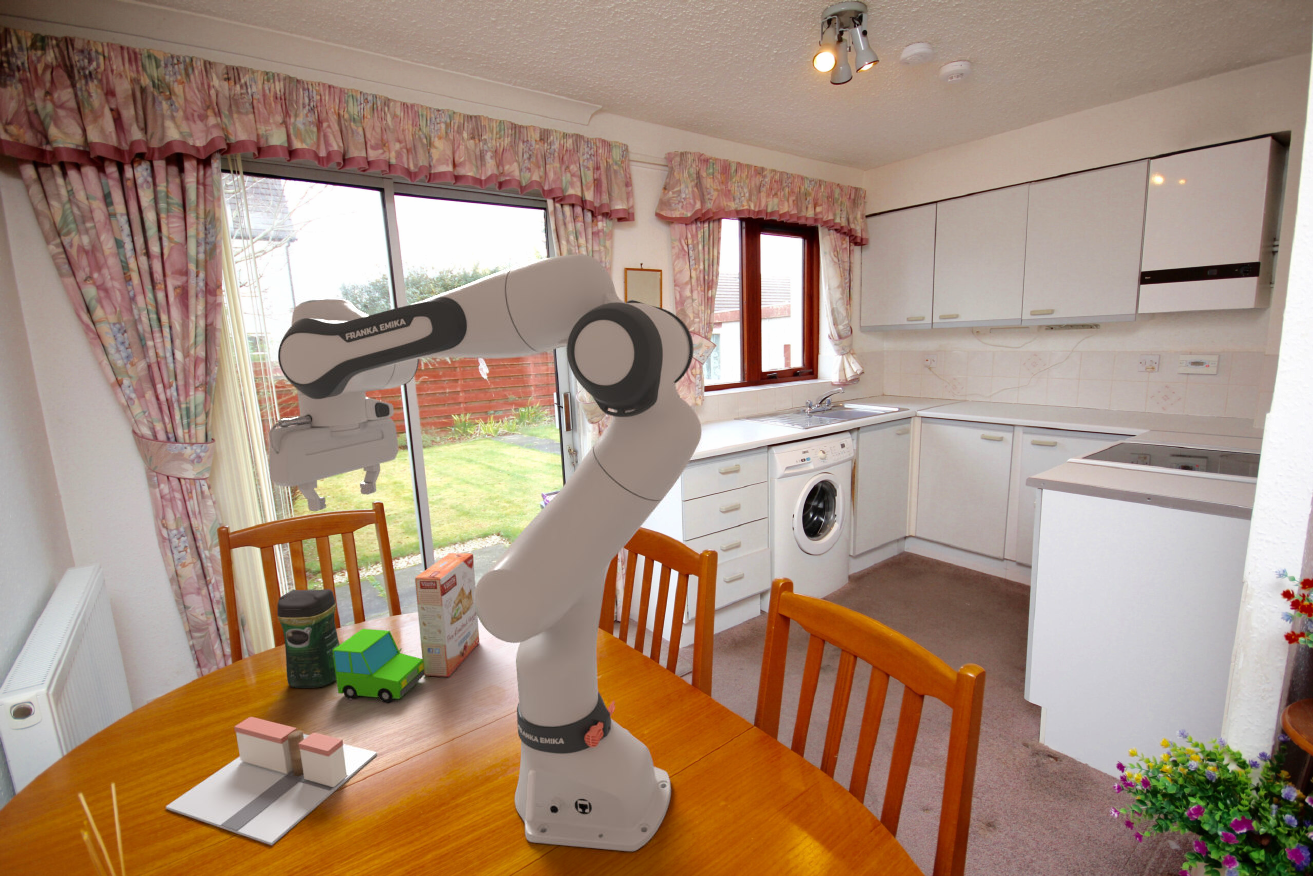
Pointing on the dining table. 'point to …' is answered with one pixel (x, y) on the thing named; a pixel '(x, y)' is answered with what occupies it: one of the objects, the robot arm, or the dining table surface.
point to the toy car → (375, 666)
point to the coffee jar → (309, 636)
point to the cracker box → (447, 613)
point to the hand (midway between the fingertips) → (344, 501)
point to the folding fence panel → (264, 744)
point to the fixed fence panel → (323, 759)
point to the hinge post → (296, 752)
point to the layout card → (260, 797)
